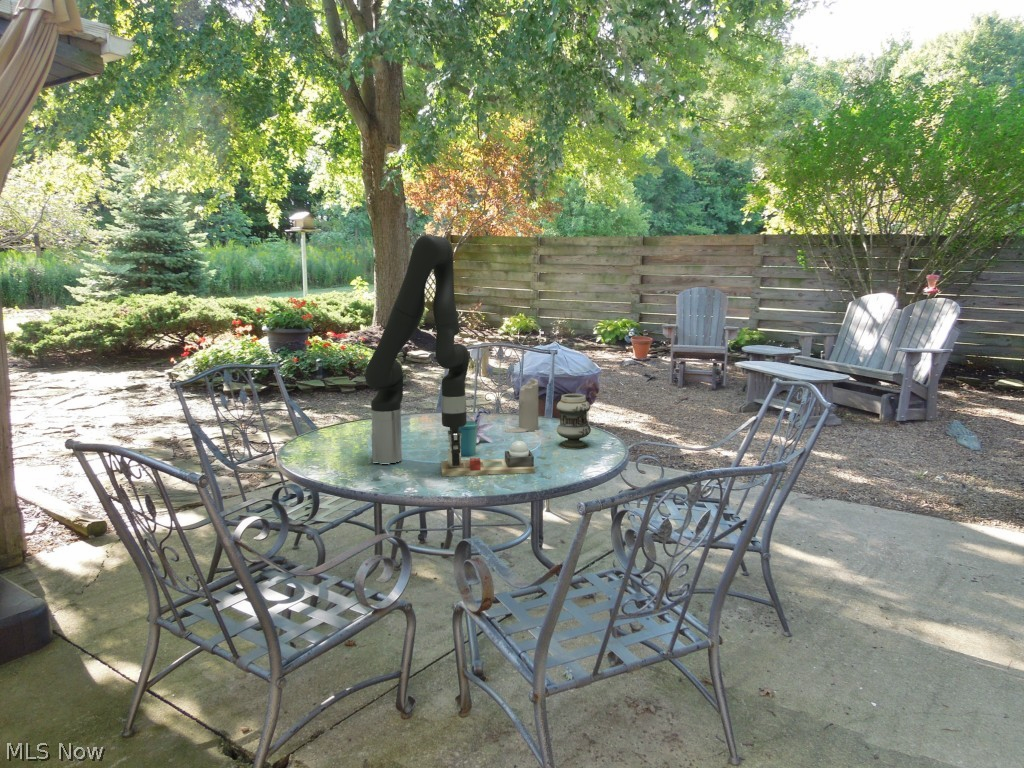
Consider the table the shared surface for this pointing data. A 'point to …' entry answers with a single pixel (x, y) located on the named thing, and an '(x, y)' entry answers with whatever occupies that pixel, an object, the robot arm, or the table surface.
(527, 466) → the board
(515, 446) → the pale round cylinder
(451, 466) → the pawn
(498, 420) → the table surface
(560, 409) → the apothecary jar
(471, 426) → the cup
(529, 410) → the candle
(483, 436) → the water lily
